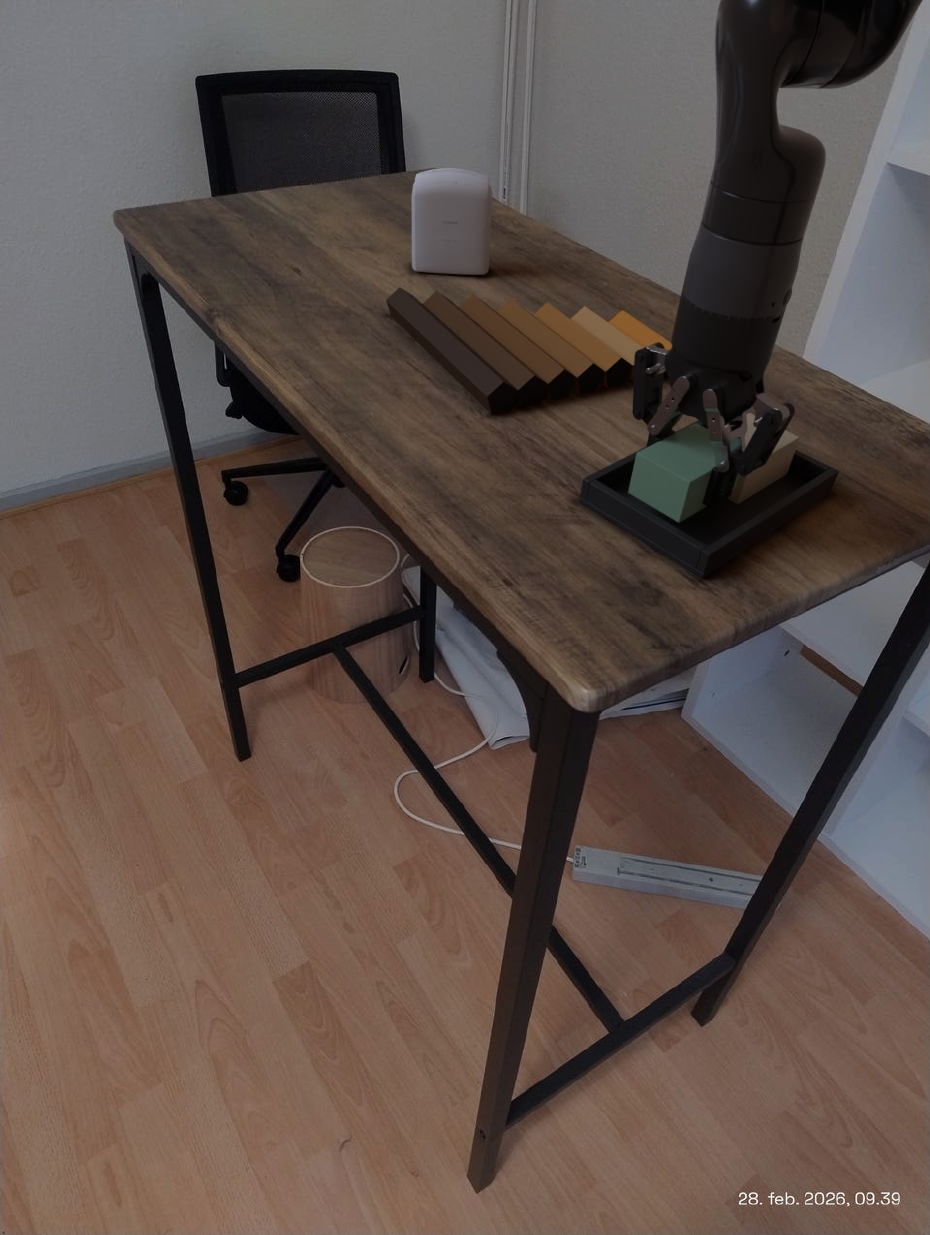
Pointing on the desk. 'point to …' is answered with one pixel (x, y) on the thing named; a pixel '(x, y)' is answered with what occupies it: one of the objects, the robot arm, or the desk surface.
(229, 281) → the desk surface
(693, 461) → the sage pad
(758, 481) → the beige pad
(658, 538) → the tray
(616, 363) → the pan flute
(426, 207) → the photo printer
